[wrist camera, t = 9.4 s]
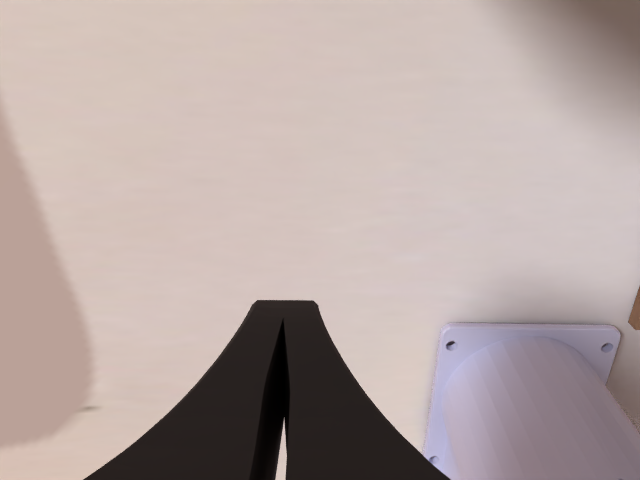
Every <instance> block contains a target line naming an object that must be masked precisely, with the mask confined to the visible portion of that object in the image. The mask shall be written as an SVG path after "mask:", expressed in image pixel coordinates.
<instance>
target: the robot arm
mask: <svg viewBox="0 0 640 480" xmlns="http://www.w3.org/2000/svg"><path fill="white" fill-rule="evenodd" d="M620 339H621V334H620V332H619V331H618V329H617V328H616V327H614V326H612V325H581V324H506V323H448V324H446V325H444V326H443V327H442V329H441V331H440V337H439V344H438V351H437V358H436V366H435V373H434V380H433V387H432V394H431V401H430V408H429V415H428V422H427V429H426V436H425V443H424V450H423V455H422V454H421V453H420V452H419V451H418V450H417V449H416V448H415V447H414V446H413V445H411V444H410V443H409V442H408V441H407V440H406V439H405V438H404V437H403V436H402V435H401V434H400V433H399V432H398V431H397V430H396V429H395V427H394V426H393V425H392V424H391V423H390V422H389V421H388V420H387V419H386V418H385V417H384V415H383V414H382V413H381V412H380V411H379V409H378V408H377V407H376V406H375V405H374V403H373V402H372V401H371V400H370V398H369V397H368V396H367V394H366V393H365V392H364V390H363V389H362V388H361V386H360V385H359V383H358V382H357V380H356V379H355V378H354V376H353V375H352V373H351V372H350V370H349V369H348V367H347V365H346V364H345V362H344V361H343V359H342V357H341V355H340V354H339V352H338V350H337V348H336V347H335V345H334V343H333V341H332V339H331V337H330V335H329V333H328V331H327V329H326V327H325V325H324V322H323V320H322V317H321V315H320V311H319V308H318V305H317V304H316V303H315V302H314V301H305V300H257V301H256V302H255V303H254V304H252V306H251V308H250V310H249V312H248V314H247V316H246V317H245V319H244V321H243V322H242V324H241V326H240V327H239V329H238V330H237V332H236V333H235V335H234V336H233V338H232V339H231V341H230V342H229V343H228V345H227V346H226V348H225V349H224V350H223V352H222V353H221V354H220V356H219V357H218V358H217V360H216V361H215V362H214V363H213V365H212V366H211V367H210V368H209V369H208V371H207V372H206V373H205V374H204V375H203V377H202V378H201V379H200V380H199V381H198V383H197V384H196V385H195V386H194V387H193V388H192V389H191V390H190V391H189V392H188V394H187V395H186V396H185V397H184V398H183V399H182V400H181V401H180V402H179V403H178V404H177V405H176V406H175V407H174V408H173V409H172V410H171V411H170V412H169V413H168V414H167V415H166V416H164V417H163V418H162V419H161V420H160V421H159V422H158V423H157V424H155V425H154V426H153V427H152V428H151V429H150V430H149V431H148V432H146V433H145V434H144V435H143V436H142V437H141V438H139V439H138V440H137V441H136V442H135V443H133V444H132V445H131V446H130V447H128V448H127V449H126V450H125V451H123V452H122V453H120V454H119V455H118V456H116V457H115V458H114V459H112V460H111V461H109V462H108V463H107V464H105V465H104V466H103V467H101V468H100V469H98V470H97V471H95V472H94V473H92V474H91V475H90V476H88V477H87V478H85V479H83V480H275V477H276V470H277V464H278V457H279V450H280V443H281V436H282V429H283V422H284V418H285V434H286V449H287V465H286V480H640V433H639V432H638V430H637V429H636V428H635V426H634V425H633V423H632V422H631V421H630V419H629V418H628V416H627V415H626V414H625V412H624V411H623V410H622V408H621V407H620V405H619V404H618V403H617V401H616V400H615V398H614V397H613V396H612V394H611V393H610V392H609V390H608V389H607V387H606V383H607V380H608V376H609V373H610V370H611V367H612V364H613V361H614V358H615V354H616V351H617V348H618V345H619V342H620ZM450 341H454V342H455V343H454V344H453V345H446V344H447V343H448V342H450ZM606 343H608V345H607V346H605V347H602V346H603V345H604V344H606ZM433 456H436V457H433ZM431 457H433V458H431Z"/></svg>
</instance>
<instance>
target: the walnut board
mask: <svg viewBox="0 0 640 480" xmlns="http://www.w3.org/2000/svg"><path fill="white" fill-rule="evenodd" d="M628 322H629V323H630V324H631V326H632V327H633V328H634V329H635V330H640V287H639V290H638V293H637V296H636V299H635V302H634V306H633V309H632V312H631V315H630V318H629V321H628Z"/></svg>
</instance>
